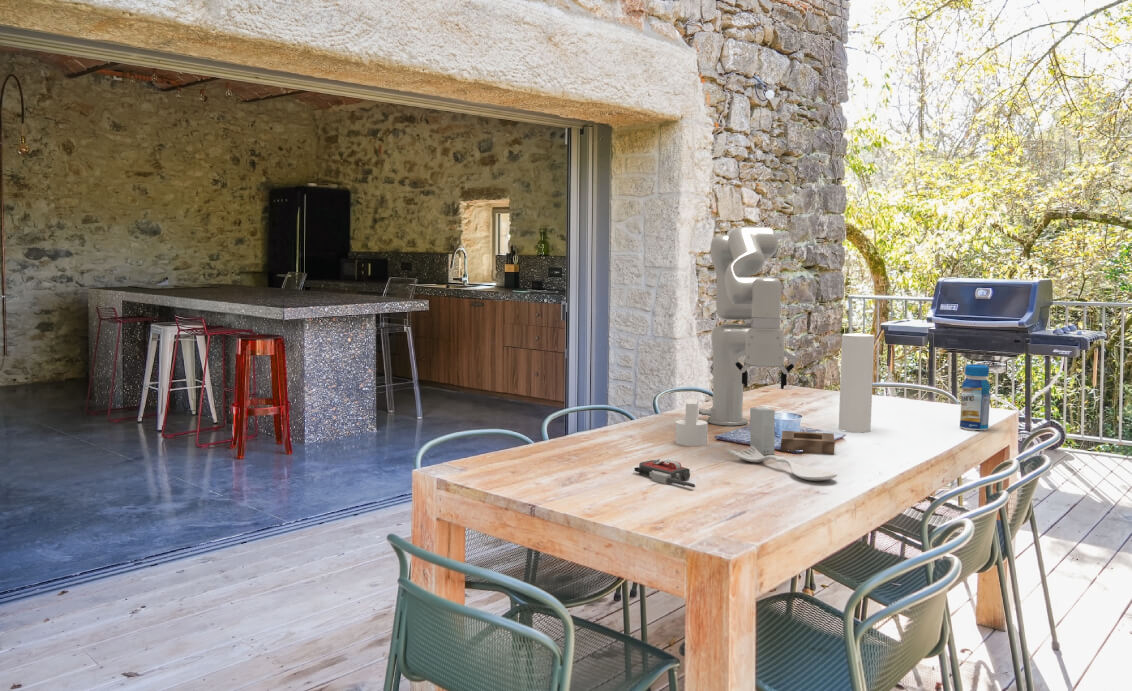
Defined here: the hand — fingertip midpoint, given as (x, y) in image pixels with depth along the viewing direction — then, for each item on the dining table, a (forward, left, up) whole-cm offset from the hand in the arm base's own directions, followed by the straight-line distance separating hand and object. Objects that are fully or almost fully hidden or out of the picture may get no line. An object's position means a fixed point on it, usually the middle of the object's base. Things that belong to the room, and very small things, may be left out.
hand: (763, 387), depth 238 cm
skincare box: (0, 0, -18) cm, 18 cm away
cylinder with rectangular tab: (-20, +7, -18) cm, 28 cm away
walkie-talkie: (-19, -36, -19) cm, 45 cm away
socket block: (+12, +9, -18) cm, 23 cm away
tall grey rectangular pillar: (+26, +42, -18) cm, 53 cm away
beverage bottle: (+62, +55, -18) cm, 85 cm away
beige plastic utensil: (+6, -19, -18) cm, 27 cm away
